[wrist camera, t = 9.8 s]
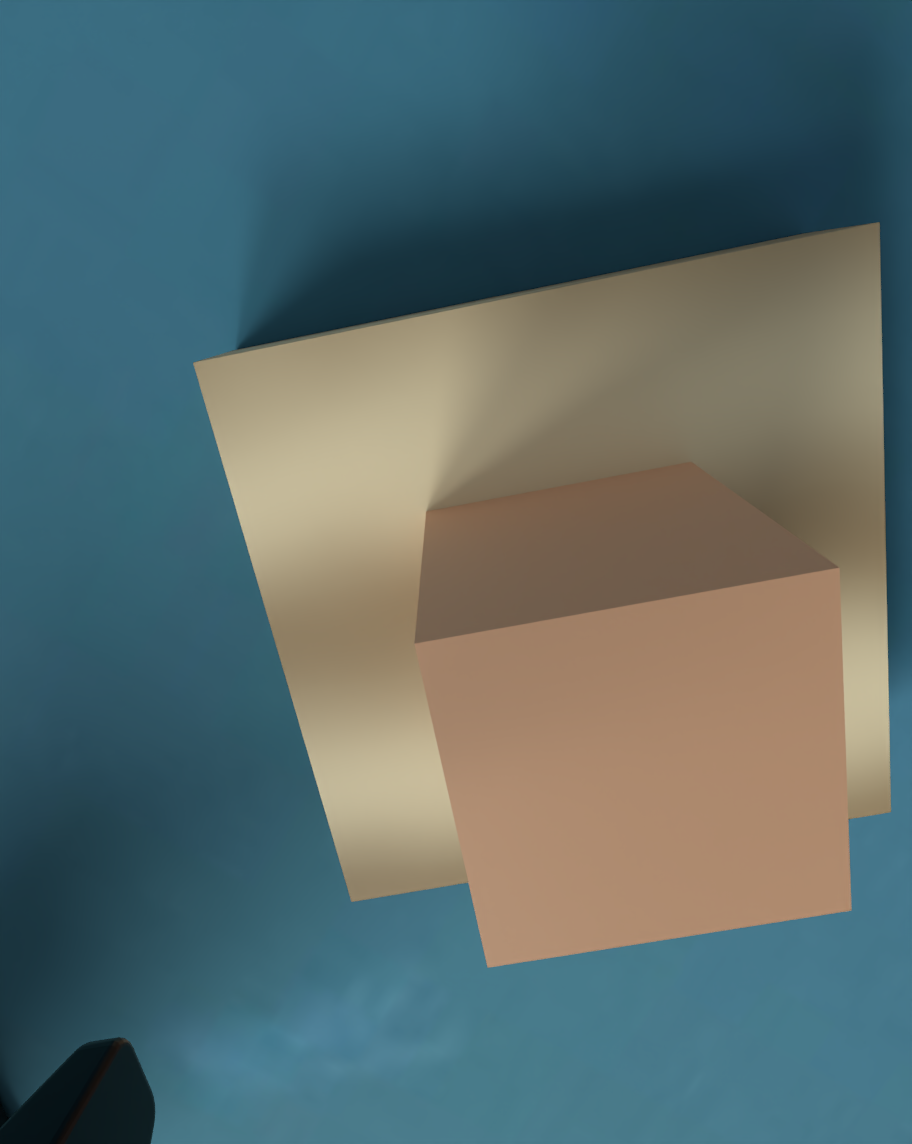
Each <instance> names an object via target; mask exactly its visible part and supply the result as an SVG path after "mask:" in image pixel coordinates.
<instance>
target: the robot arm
mask: <svg viewBox="0 0 912 1144" xmlns="http://www.w3.org/2000/svg"><path fill="white" fill-rule="evenodd" d="M154 1121H155V1102H154V1097H153V1093H152V1091H151V1088H150V1086H149V1084H148V1081H147V1079H146V1077H145V1074H144V1072H143V1070H142V1067H141V1065H140V1062H139V1060H138V1058H137V1055H136V1053H135V1051H134V1048H133V1046H132V1045H131V1043H130V1042H129V1041H128V1040H127V1039H125V1038H120V1037H118V1038H112V1039H106V1040H99V1041H93V1042H89V1043H86V1044H84V1045H82V1046H81V1047H79V1048H78V1049H77V1050H76V1051H75V1052H74V1053H73V1054H72V1055H71V1056H70V1057H69V1058H68V1059H67V1060H66V1061H65V1062H64V1063H63V1064H62V1065H61V1066H60V1067H59V1068H58V1069H57V1070H56V1071H55V1072H54V1073H53V1074H52V1075H51V1076H50V1077H49V1078H48V1079H47V1080H46V1082H45V1083H44V1084H43V1085H42V1086H41V1087H40V1088H39V1089H38V1090H37V1091H36V1092H35V1093H34V1094H33V1095H32V1096H31V1097H30V1098H29V1099H28V1100H27V1101H26V1102H25V1103H24V1104H23V1105H22V1106H21V1107H20V1108H19V1109H18V1110H17V1111H16V1112H15V1113H14V1114H13V1115H12V1116H11V1117H10V1118H9V1119H8V1118H7V1116H6V1114H5V1112H4V1110H3V1108H2V1106H1V1104H0V1144H151V1139H152V1133H153V1128H154Z"/></svg>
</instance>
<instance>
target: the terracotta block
mask: <svg viewBox="0 0 912 1144" xmlns="http://www.w3.org/2000/svg"><path fill="white" fill-rule="evenodd" d="M414 645H415V649H416V653H417V658H418V662H419V667H420V671H421V675H422V680H423V684H424V689H425V693H426V697H427V702H428V706H429V711H430V715H431V719H432V724H433V728H434V733H435V737H436V742H437V746H438V750H439V755H440V759H441V764H442V768H443V772H444V777H445V781H446V786H447V790H448V794H449V799H450V803H451V808H452V812H453V816H454V821H455V825H456V830H457V834H458V839H459V843H460V847H461V852H462V856H463V861H464V865H465V869H466V874H467V878H468V883H469V887H470V891H471V896H472V900H473V905H474V909H475V913H476V918H477V922H478V927H479V931H480V936H481V940H482V944H483V949H484V953H485V958H486V962H487V966H488V967H495V966H501V965H507V964H514V963H520V962H526V961H533V960H539V959H546V958H552V957H558V956H565V955H571V954H577V953H584V952H590V951H596V950H603V949H609V948H616V947H622V946H628V945H635V944H641V943H647V942H654V941H660V940H666V939H673V938H679V937H686V936H692V935H698V934H705V933H711V932H717V931H724V930H730V929H736V928H743V927H749V926H756V925H762V924H768V923H775V922H781V921H787V920H794V919H800V918H806V917H813V916H819V915H826V914H832V913H838V912H845V911H851V885H850V856H849V827H848V798H847V769H846V740H845V711H844V682H843V653H842V624H841V596H840V568H839V567H838V566H837V565H835V564H834V563H832V562H831V561H830V560H828V559H827V558H825V557H824V556H823V555H821V554H820V553H818V552H817V551H816V550H814V549H813V548H811V547H810V546H809V545H807V544H806V543H804V542H803V541H802V540H800V539H799V538H797V537H796V536H795V535H793V534H792V533H790V532H789V531H788V530H786V529H785V528H783V527H782V526H781V525H779V524H778V523H776V522H775V521H774V520H772V519H771V518H769V517H768V516H767V515H765V514H764V513H762V512H761V511H760V510H758V509H757V508H755V507H754V506H753V505H751V504H750V503H748V502H747V501H746V500H744V499H743V498H741V497H740V496H739V495H737V494H736V493H734V492H733V491H732V490H730V489H729V488H727V487H726V486H725V485H723V484H722V483H720V482H719V481H718V480H716V479H715V478H713V477H712V476H711V475H709V474H708V473H706V472H705V471H704V470H702V469H701V468H699V467H698V466H697V465H695V464H694V463H692V462H687V463H682V464H677V465H671V466H666V467H661V468H655V469H650V470H645V471H639V472H634V473H629V474H623V475H618V476H613V477H607V478H602V479H597V480H591V481H586V482H581V483H575V484H570V485H564V486H559V487H554V488H548V489H543V490H538V491H532V492H527V493H522V494H516V495H511V496H506V497H500V498H495V499H490V500H484V501H479V502H474V503H468V504H463V505H458V506H452V507H447V508H442V509H436V510H431V511H426V519H425V530H424V541H423V553H422V564H421V575H420V586H419V597H418V608H417V619H416V631H415V642H414Z"/></svg>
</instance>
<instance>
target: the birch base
mask: <svg viewBox="0 0 912 1144" xmlns="http://www.w3.org/2000/svg"><path fill="white" fill-rule="evenodd" d="M193 364H194V367H195V371H196V374H197V377H198V381H199V384H200V388H201V391H202V394H203V398H204V401H205V405H206V408H207V411H208V415H209V418H210V422H211V425H212V428H213V432H214V435H215V439H216V442H217V446H218V449H219V452H220V456H221V459H222V463H223V466H224V469H225V473H226V476H227V480H228V483H229V486H230V490H231V493H232V497H233V500H234V503H235V507H236V510H237V514H238V517H239V520H240V524H241V527H242V531H243V534H244V537H245V541H246V544H247V548H248V551H249V554H250V558H251V561H252V565H253V568H254V571H255V575H256V578H257V582H258V585H259V588H260V592H261V595H262V599H263V602H264V605H265V609H266V612H267V616H268V619H269V622H270V626H271V629H272V633H273V636H274V639H275V643H276V646H277V650H278V653H279V656H280V660H281V663H282V667H283V670H284V673H285V677H286V680H287V684H288V687H289V690H290V694H291V697H292V701H293V704H294V708H295V711H296V714H297V718H298V721H299V725H300V728H301V731H302V735H303V738H304V742H305V745H306V748H307V752H308V755H309V759H310V762H311V765H312V769H313V772H314V776H315V779H316V782H317V786H318V789H319V793H320V796H321V799H322V803H323V806H324V810H325V813H326V816H327V820H328V823H329V827H330V830H331V833H332V837H333V840H334V844H335V847H336V850H337V854H338V857H339V861H340V864H341V867H342V871H343V874H344V878H345V881H346V884H347V888H348V891H349V895H350V898H351V901H352V902H354V901H360V900H366V899H372V898H378V897H384V896H390V895H396V894H402V893H408V892H414V891H420V890H426V889H432V888H438V887H444V886H450V885H456V884H462V883H468V878H467V874H466V869H465V865H464V861H463V856H462V852H461V847H460V843H459V839H458V834H457V830H456V825H455V821H454V816H453V812H452V808H451V803H450V799H449V794H448V790H447V786H446V781H445V777H444V772H443V768H442V764H441V759H440V755H439V750H438V746H437V742H436V737H435V733H434V728H433V724H432V719H431V715H430V711H429V706H428V702H427V697H426V693H425V689H424V684H423V680H422V675H421V671H420V667H419V662H418V658H417V653H416V649H415V645H414V642H415V631H416V619H417V608H418V597H419V586H420V575H421V564H422V553H423V541H424V530H425V519H426V511H431V510H436V509H442V508H447V507H452V506H458V505H463V504H468V503H474V502H479V501H484V500H490V499H495V498H500V497H506V496H511V495H516V494H522V493H527V492H532V491H538V490H543V489H548V488H554V487H559V486H564V485H570V484H575V483H581V482H586V481H591V480H597V479H602V478H607V477H613V476H618V475H623V474H629V473H634V472H639V471H645V470H650V469H655V468H661V467H666V466H671V465H677V464H682V463H687V462H692V463H694V464H695V465H697V466H698V467H699V468H701V469H702V470H704V471H705V472H706V473H708V474H709V475H711V476H712V477H713V478H715V479H716V480H718V481H719V482H720V483H722V484H723V485H725V486H726V487H727V488H729V489H730V490H732V491H733V492H734V493H736V494H737V495H739V496H740V497H741V498H743V499H744V500H746V501H747V502H748V503H750V504H751V505H753V506H754V507H755V508H757V509H758V510H760V511H761V512H762V513H764V514H765V515H767V516H768V517H769V518H771V519H772V520H774V521H775V522H776V523H778V524H779V525H781V526H782V527H783V528H785V529H786V530H788V531H789V532H790V533H792V534H793V535H795V536H796V537H797V538H799V539H800V540H802V541H803V542H804V543H806V544H807V545H809V546H810V547H811V548H813V549H814V550H816V551H817V552H818V553H820V554H821V555H823V556H824V557H825V558H827V559H828V560H830V561H831V562H832V563H834V564H835V565H837V566H838V567H839V568H840V596H841V624H842V653H843V682H844V711H845V740H846V769H847V798H848V819H852V818H858V817H864V816H870V815H876V814H882V813H888V812H891V795H890V742H889V689H888V636H887V584H886V531H885V478H884V425H883V373H882V320H881V267H880V222H877V223H871V224H864V225H857V226H850V227H844V228H837V229H830V230H824V231H817V232H810V233H804V234H799V235H794V236H789V237H784V238H780V239H775V240H770V241H765V242H760V243H755V244H750V245H745V246H741V247H736V248H731V249H726V250H721V251H716V252H711V253H706V254H701V255H697V256H692V257H687V258H682V259H677V260H672V261H667V262H662V263H658V264H653V265H648V266H643V267H638V268H633V269H628V270H623V271H619V272H614V273H609V274H604V275H599V276H594V277H589V278H584V279H579V280H575V281H570V282H565V283H560V284H555V285H550V286H545V287H540V288H536V289H531V290H526V291H521V292H516V293H511V294H506V295H501V296H497V297H492V298H487V299H482V300H477V301H472V302H467V303H462V304H457V305H453V306H448V307H443V308H438V309H433V310H428V311H423V312H418V313H414V314H409V315H404V316H399V317H394V318H389V319H384V320H379V321H375V322H370V323H365V324H360V325H355V326H350V327H345V328H340V329H335V330H331V331H326V332H321V333H316V334H311V335H306V336H301V337H296V338H292V339H287V340H282V341H277V342H272V343H267V344H262V345H257V346H253V347H248V348H243V349H238V350H234V351H230V352H227V353H224V354H220V355H217V356H214V357H210V358H207V359H204V360H200V361H197V362H194V363H193Z"/></svg>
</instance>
